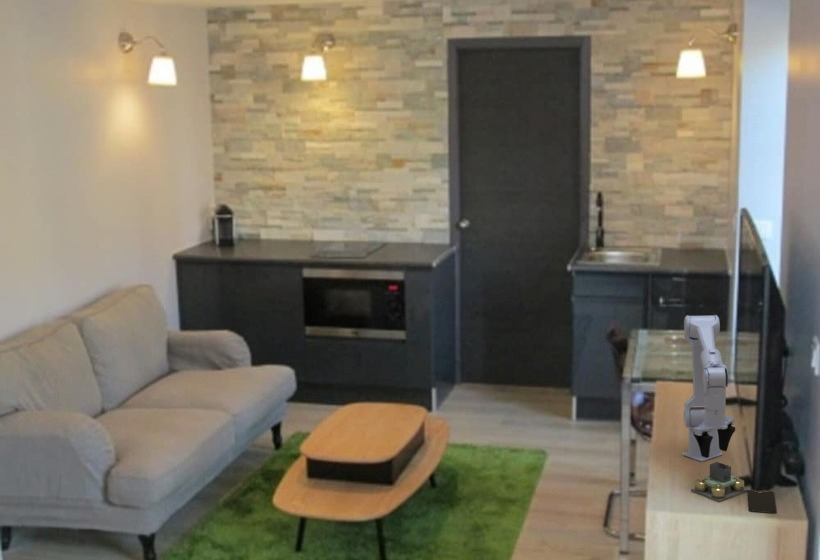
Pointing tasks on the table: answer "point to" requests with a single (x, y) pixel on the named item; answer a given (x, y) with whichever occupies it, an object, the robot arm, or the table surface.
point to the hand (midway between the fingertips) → (714, 453)
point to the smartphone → (761, 502)
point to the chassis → (719, 490)
